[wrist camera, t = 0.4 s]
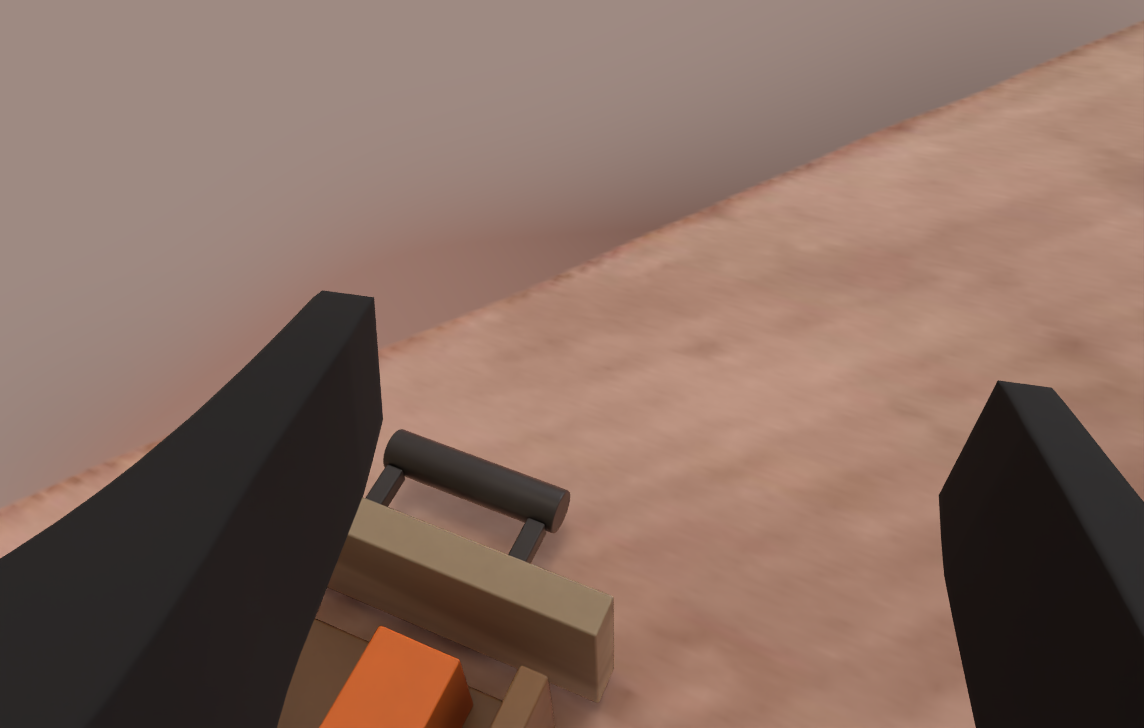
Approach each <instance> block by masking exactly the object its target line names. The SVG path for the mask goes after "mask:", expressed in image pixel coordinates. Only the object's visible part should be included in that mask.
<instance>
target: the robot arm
mask: <svg viewBox="0 0 1144 728" xmlns="http://www.w3.org/2000/svg"><path fill="white" fill-rule="evenodd" d="M382 421H383V414H382V400H381V387H380V373H379V359H378V346H377V333H376V318H375V305H374V297H367V296H359V295H352V294H344V293H337V292H329V291H321V292H320V293H319V294H317V295H316V296H315V297H313V298H312V299H311V300H310V301H309V302H308V303H307V304H306V305H305V307H304V308H303V309H302V310H301V311H300V312H299V313H298V314H297V315H296V316H295V317H294V318H293V319H292V320H291V321H290V322H289V323H288V324H287V325H286V326H285V327H284V328H283V329H282V330H281V331H280V332H279V333H278V334H277V335H276V336H275V337H274V338H273V339H272V340H271V341H270V342H269V343H268V344H267V345H266V346H265V347H264V348H263V349H262V350H261V351H260V352H259V353H258V354H257V355H256V356H255V357H254V358H253V359H252V360H251V361H250V362H249V363H248V364H247V365H246V366H245V367H244V368H243V369H242V370H241V371H240V372H239V373H238V374H236V375H235V376H234V377H233V378H232V379H231V380H230V381H229V382H228V383H227V384H226V385H225V386H224V387H223V388H222V389H221V390H219V391H218V392H217V393H216V394H215V395H214V396H213V397H212V398H211V399H210V400H209V401H208V402H207V403H205V404H204V405H203V406H202V407H201V408H200V409H199V410H198V411H197V412H196V413H194V415H192V416H191V417H190V418H189V419H188V420H186V421H185V422H184V423H183V424H182V425H181V426H179V427H178V428H177V429H176V430H175V431H173V432H172V433H171V434H170V435H169V436H167V437H166V438H165V439H164V440H163V441H162V442H160V443H159V444H158V445H157V446H156V447H154V448H153V449H152V450H151V451H150V452H148V453H147V454H146V455H145V456H144V457H143V458H141V459H140V460H139V461H138V462H137V463H135V464H134V465H133V466H131V467H130V468H129V469H128V470H126V471H125V472H124V473H123V474H121V475H120V476H119V477H117V478H116V479H115V480H114V481H112V482H111V483H110V484H108V485H107V486H106V487H104V488H103V489H102V490H100V491H99V492H98V493H96V494H95V495H94V496H92V497H91V498H89V499H88V500H87V501H85V502H84V503H82V504H81V505H80V506H78V507H77V508H75V509H74V510H73V511H71V512H70V513H68V514H67V515H66V516H64V517H63V518H61V519H60V520H59V521H57V522H56V523H54V524H53V525H51V526H50V527H48V528H47V529H45V530H44V531H42V532H41V533H39V534H38V535H36V536H34V537H33V538H31V539H30V540H28V541H27V542H25V543H24V544H22V545H21V546H19V547H18V548H16V549H15V550H13V551H12V552H10V553H8V554H7V555H5V556H4V557H2V558H1V559H0V728H277V726H278V722H279V719H280V715H281V712H282V708H283V705H284V701H285V698H286V694H287V691H288V688H289V685H290V682H291V679H292V677H293V674H294V671H295V668H296V665H297V662H298V659H299V656H300V654H301V651H302V649H303V646H304V644H305V641H306V639H307V636H308V634H309V631H310V629H311V626H312V624H313V621H314V619H315V616H316V614H317V611H318V609H319V606H320V604H321V601H322V599H323V596H324V594H325V591H326V589H327V586H328V584H329V581H330V579H331V576H332V574H333V571H334V569H335V566H336V564H337V561H338V559H339V556H340V554H341V551H342V548H343V546H344V543H345V541H346V538H347V536H348V533H349V531H350V528H351V525H352V523H353V520H354V518H355V515H356V513H357V510H358V507H359V505H360V502H361V500H362V497H363V494H364V491H365V487H366V483H367V480H368V476H369V472H370V468H371V465H372V461H373V457H374V453H375V449H376V445H377V441H378V437H379V433H380V429H381V425H382ZM939 507H940V526H941V543H942V555H943V567H944V577H945V582H946V587H947V592H948V597H949V602H950V607H951V612H952V617H953V622H954V627H955V632H956V637H957V641H958V646H959V651H960V655H961V660H962V665H963V670H964V674H965V679H966V684H967V688H968V693H969V698H970V702H971V707H972V712H973V717H974V721H975V726H976V728H1144V502H1143V500H1142V499H1141V498H1140V497H1139V496H1138V494H1137V493H1136V492H1135V491H1134V489H1133V488H1132V487H1131V486H1130V484H1129V483H1128V482H1127V481H1126V479H1125V478H1124V477H1123V476H1122V474H1121V473H1120V472H1119V471H1118V469H1117V468H1116V467H1115V466H1114V464H1113V463H1112V462H1111V461H1110V459H1109V458H1108V457H1107V456H1106V454H1105V453H1104V452H1103V450H1102V449H1101V448H1100V447H1099V445H1098V444H1097V443H1096V442H1095V440H1094V439H1093V438H1092V437H1091V435H1090V434H1089V433H1088V431H1087V430H1086V429H1085V428H1084V426H1083V425H1082V424H1081V423H1080V421H1079V420H1078V419H1077V418H1076V416H1075V415H1074V414H1073V413H1072V411H1071V410H1070V409H1069V408H1068V406H1067V405H1066V404H1065V403H1064V402H1063V400H1062V399H1061V398H1060V397H1059V396H1058V394H1057V393H1056V392H1055V391H1054V390H1053V389H1052V388H1050V387H1042V386H1035V385H1027V384H1020V383H1012V382H1005V381H997V383H996V385H995V387H994V389H993V391H992V393H991V395H990V397H989V399H988V401H987V403H986V405H985V407H984V409H983V411H982V413H981V414H980V416H979V418H978V420H977V422H976V424H975V426H974V428H973V430H972V432H971V434H970V436H969V438H968V440H967V442H966V444H965V446H964V447H963V449H962V451H961V453H960V455H959V457H958V459H957V461H956V463H955V465H954V467H953V469H952V471H951V473H950V475H949V477H948V479H947V480H946V482H945V484H944V486H943V488H942V490H941V492H940V494H939Z"/></svg>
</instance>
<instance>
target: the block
mask: <svg viewBox="0 0 1144 728" xmlns="http://www.w3.org/2000/svg"><path fill="white" fill-rule="evenodd" d="M472 706H473V701H472V698H471V695H470V692H469V688H468V685H467V682H466V679H465V676H464V672H463V669H462V666H461V663H460V660H459V659H457V658H455V657H452V656H450V655H448V654H445V653H443V652H441V651H438V650H436V649H434V648H432V647H429V646H427V645H425V644H422V643H420V642H418V641H415V640H413V639H411V638H409V637H406V636H404V635H402V634H399V633H397V632H395V631H392V630H390V629H388V628H386V627H383V626H379V627H378V629H377V630H376V632H375V634H374V635H373V637H372V639H371V640H370V642H369V644H368V646H367V647H366V649H365V651H364V652H363V654H362V656H361V657H360V659H359V661H358V662H357V664H356V666H355V668H354V669H353V671H352V673H351V674H350V676H349V678H348V679H347V681H346V683H345V685H344V686H343V688H342V690H341V691H340V693H339V695H338V696H337V698H336V700H335V701H334V703H333V705H332V707H331V708H330V710H329V712H328V713H327V715H326V717H325V718H324V720H323V722H322V723H321V725H320V727H319V728H462V726H463V724H464V722H465V720H466V718H467V716H468V714H469V712H470V710H471V708H472Z"/></svg>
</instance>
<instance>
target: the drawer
mask: <svg viewBox="0 0 1144 728" xmlns="http://www.w3.org/2000/svg"><path fill="white" fill-rule="evenodd" d="M383 463H384V467H385V469H384V470H383V472H382V473H381V475H380V476H379V478H378V479H377V481H376V482H375V484H374V486H373V487H372V489H371V490H370V492H369V493H368V495H367V496H366V498H363V497H362V500H361V502H360V505H359V507H358V510H357V513H356V515H355V518H354V520H353V523H352V525H351V528H350V531H349V533H348V536H347V538H346V541H345V543H344V546H343V548H342V551H341V554H340V556H339V559H338V561H337V564H336V566H335V569H334V571H333V574H332V576H331V579H330V581H329V584H328V586H327V587H328V588H331V589H333V590H335V591H338V592H340V593H342V594H345V595H347V596H349V597H352V598H354V599H356V600H359V601H361V602H363V603H366V604H368V605H370V606H373V607H375V608H377V609H380V610H382V611H384V612H387V613H389V614H391V615H393V616H396V617H398V618H400V619H403V620H405V621H407V622H410V623H412V624H414V625H417V626H419V627H421V628H424V629H426V630H428V631H431V632H433V633H435V634H438V635H440V636H442V637H445V638H447V639H449V640H452V641H454V642H456V643H459V644H461V645H463V646H466V647H468V648H470V649H473V650H475V651H477V652H480V653H482V654H484V655H487V656H489V657H491V658H494V659H496V660H498V661H501V662H503V663H505V664H508V665H510V666H512V667H515V668H517V669H518V670H517V672H516V674H515V676H514V679H513V681H512V683H511V685H510V687H509V689H508V691H507V693H506V695H505V697H504V699H503V701H501V700H499V699H497V698H495V697H492V696H490V695H488V694H486V693H483V692H481V691H479V690H477V689H474V688H472V687H470V686H468V688H469V692H470V695H471V698H472V701H473V706H472V708H471V710H470V712H469V714H468V716H467V718H466V720H465V722H464V724H463V726H462V728H555V723H554V715H553V708H552V701H551V694H550V687H549V683H552V684H554V685H556V686H559V687H561V688H563V689H566V690H568V691H570V692H573V693H575V694H577V695H580V696H582V697H584V698H587V699H589V700H591V701H594V702H596V703H598V702H599V701H600V699H601V697H602V694H603V692H604V690H605V688H606V685H607V683H608V681H609V678H610V676H611V674H612V671H613V669H614V597H613V596H611V595H608V594H606V593H603V592H601V591H598V590H596V589H593V588H590V587H588V586H585V585H583V584H580V583H578V582H575V581H573V580H570V579H568V578H565V577H563V576H560V575H558V574H555V573H553V572H550V571H548V570H545V569H543V568H540V567H537V566H535V565H532V564H531V562H532V560H533V558H534V556H535V554H536V552H537V550H538V548H539V546H540V544H541V542H542V540H543V538H544V536H545V534H546V531H548V532H550V533H555V532H556V531H557V530H558V529H559V527H560V526H561V524H562V522H563V520H564V518H565V515H566V513H567V510H568V506H569V502H570V492H569V491H568V490H565V489H563V488H560V487H557V486H555V485H552V484H549V483H546V482H544V481H541V480H538V479H536V478H533V477H530V476H528V475H525V474H522V473H519V472H517V471H514V470H511V469H509V468H506V467H503V466H501V465H498V464H495V463H492V462H490V461H487V460H484V459H482V458H479V457H476V456H474V455H471V454H468V453H465V452H463V451H460V450H457V449H455V448H452V447H449V446H446V445H444V444H441V443H438V442H436V441H433V440H430V439H428V438H425V437H422V436H419V435H417V434H414V433H411V432H409V431H406V430H403V429H401V430H398V431H397V432H395V433H394V434H393V436H392V437H391V439H390V440H389V442H388V444H387V447H386V449H385V453H384V459H383ZM405 477H407V478H410V479H413V480H415V481H418V482H420V483H423V484H426V485H428V486H431V487H433V488H436V489H439V490H441V491H444V492H446V493H449V494H452V495H454V496H457V497H459V498H462V499H465V500H467V501H470V502H472V503H475V504H478V505H480V506H483V507H485V508H488V509H491V510H493V511H496V512H498V513H501V514H504V515H506V516H509V517H511V518H514V519H517V520H519V521H522V522H524V523H525V524H524V526H523V528H522V530H521V532H520V534H519V536H518V537H517V539H516V541H515V543H514V545H513V547H512V549H511V551H510V552H509V554H508V555H507V554H505V553H502V552H500V551H497V550H495V549H492V548H490V547H487V546H484V545H482V544H479V543H477V542H474V541H472V540H469V539H467V538H464V537H462V536H459V535H457V534H454V533H452V532H449V531H447V530H444V529H442V528H439V527H437V526H434V525H431V524H429V523H426V522H424V521H421V520H419V519H416V518H414V517H411V516H409V515H406V514H404V513H401V512H399V511H396V510H394V509H391V508H389V507H388V506H389V504H390V503H391V501H392V499H393V498H394V496H395V495H396V493H397V492H398V490H399V488H400V487H401V485H402V484H403V482H404V480H405ZM368 644H369V642H368V641H366V640H363V639H361V638H359V637H356V636H354V635H352V634H350V633H347V632H345V631H343V630H341V629H338V628H336V627H334V626H332V625H329V624H327V623H325V622H322V621H320V620H318V619H316V618H315V619H314V621H313V624H312V626H311V629H310V631H309V634H308V636H307V639H306V641H305V644H304V646H303V649H302V651H301V654H300V656H299V659H298V662H297V665H296V668H295V671H294V674H293V677H292V679H291V682H290V685H289V688H288V691H287V694H286V698H285V701H284V705H283V708H282V712H281V715H280V719H279V722H278V726H277V728H319V727H320V725H321V723H322V722H323V720H324V718H325V717H326V715H327V713H328V712H329V710H330V708H331V707H332V705H333V703H334V701H335V700H336V698H337V696H338V695H339V693H340V691H341V690H342V688H343V686H344V685H345V683H346V681H347V679H348V678H349V676H350V674H351V673H352V671H353V669H354V668H355V666H356V664H357V662H358V661H359V659H360V657H361V656H362V654H363V652H364V651H365V649H366V647H367V646H368Z"/></svg>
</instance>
